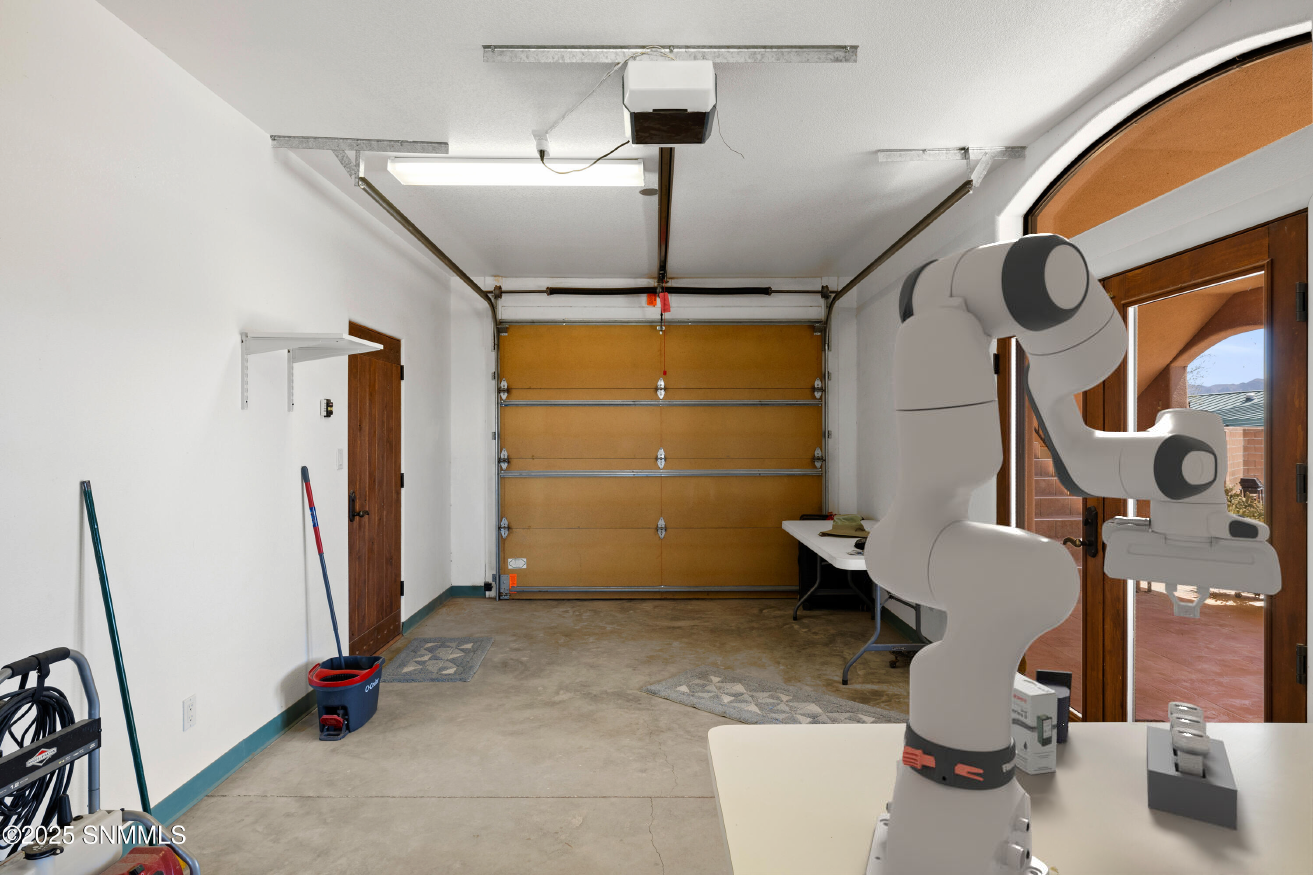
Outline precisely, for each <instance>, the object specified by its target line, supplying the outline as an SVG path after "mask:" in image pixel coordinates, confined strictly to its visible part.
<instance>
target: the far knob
mask: <svg viewBox="0 0 1313 875" xmlns="http://www.w3.org/2000/svg"><path fill="white" fill-rule="evenodd" d="M1167 704H1168V707H1167V709H1168V713H1167V715H1168V716H1167V717H1168V718H1167V719H1168V720H1170V715H1173V714H1182V715H1188V716H1192V717H1196V718H1199V719H1201V720H1203V721H1204V710H1203V708H1202V707H1199V706H1197V705H1194V704H1192V703H1186V702H1181V701H1171V702H1170V701H1169V703H1167Z"/></svg>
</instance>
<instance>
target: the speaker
mask: <svg viewBox="0 0 1313 875" xmlns="http://www.w3.org/2000/svg"><path fill="white" fill-rule="evenodd" d="M1034 681H1035V682H1037V683H1039V684H1042V685H1044V686H1046V687H1048V688H1050V689H1052V690H1054V691H1055V692H1056V693H1057V739H1056V745H1060V744H1063V743H1065V742H1067V740H1068V732H1069V725H1070V723H1069V722H1070V711H1071V710H1070V709H1071V697H1072V696H1071V694H1072V683H1073V672H1072V671H1061V670H1049V669H1036V670H1035V680H1034ZM1063 724H1064V725H1063ZM1068 724H1069V725H1068Z"/></svg>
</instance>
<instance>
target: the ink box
mask: <svg viewBox="0 0 1313 875" xmlns="http://www.w3.org/2000/svg"><path fill="white" fill-rule="evenodd" d="M1012 736H1013V738H1014V739H1015V744H1016V751H1017V762H1016V768H1017V767H1018V768H1019V769H1020V770H1022V771H1024V772H1025V773H1027V774H1028V775H1038V774H1039V775H1040V774H1045V773H1052V772H1054V773H1055V772H1056V770H1057V744H1056V739H1057V693H1056V692H1055V691H1054V690H1052V689H1050V688H1048V687H1046V686H1044V685H1042V684H1039V683H1037V682H1035V680H1033V679H1031V678H1029V677H1027V676H1025V675H1022V674H1021V673H1017V672H1016V677H1015V682H1014V693H1013V708H1012Z"/></svg>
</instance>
